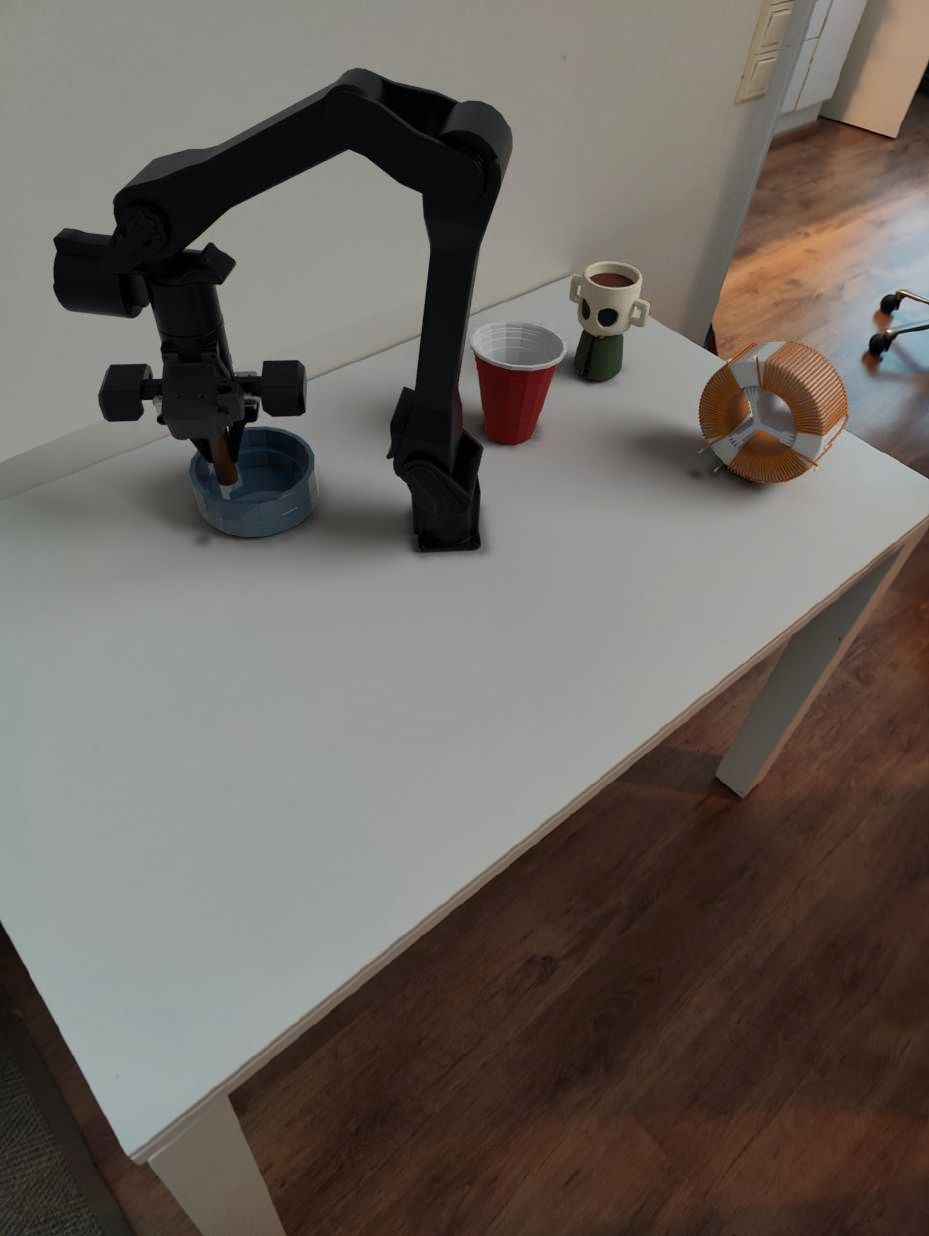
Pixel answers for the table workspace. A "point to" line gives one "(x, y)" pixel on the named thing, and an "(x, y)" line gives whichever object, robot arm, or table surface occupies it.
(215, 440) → the brown cylindrical peg
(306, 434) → the table surface
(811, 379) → the coil
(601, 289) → the character mug
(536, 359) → the plastic cup
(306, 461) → the bowl
